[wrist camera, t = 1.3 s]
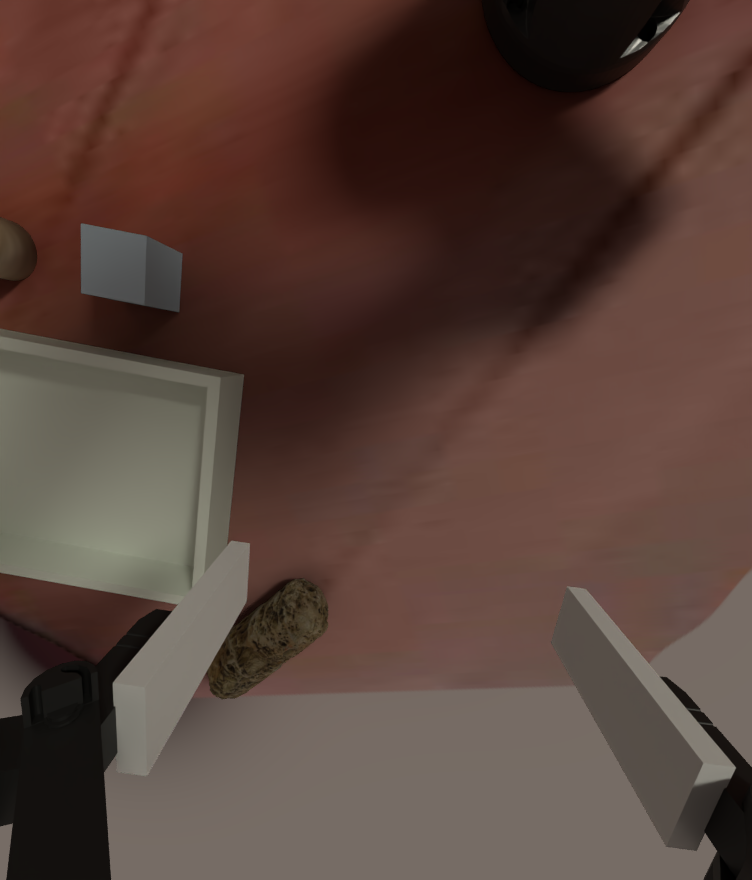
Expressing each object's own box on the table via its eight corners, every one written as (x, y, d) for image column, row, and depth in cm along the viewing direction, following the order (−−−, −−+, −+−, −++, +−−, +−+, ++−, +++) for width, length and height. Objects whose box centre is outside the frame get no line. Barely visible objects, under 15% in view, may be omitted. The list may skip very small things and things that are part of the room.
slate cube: (127, 243, 32) (80, 223, 27) (182, 254, 32) (146, 235, 27) (125, 302, 33) (81, 293, 29) (179, 312, 33) (144, 305, 29)
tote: (-74, 314, 34) (-150, 308, 29) (244, 374, 34) (220, 377, 30) (-54, 527, 39) (-116, 551, 34) (223, 577, 40) (201, 608, 35)
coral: (304, 560, 39) (289, 597, 33) (343, 598, 40) (335, 641, 34) (212, 634, 41) (183, 681, 35) (250, 668, 42) (228, 720, 36)
